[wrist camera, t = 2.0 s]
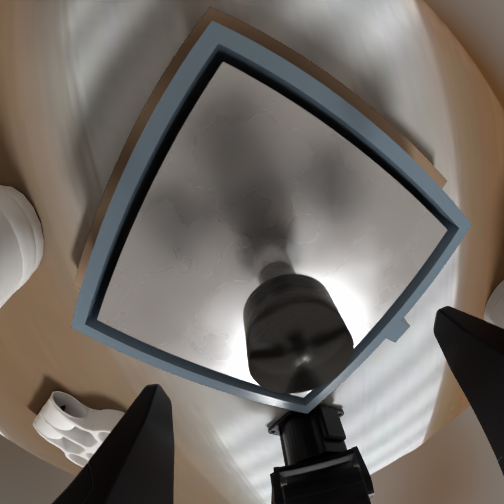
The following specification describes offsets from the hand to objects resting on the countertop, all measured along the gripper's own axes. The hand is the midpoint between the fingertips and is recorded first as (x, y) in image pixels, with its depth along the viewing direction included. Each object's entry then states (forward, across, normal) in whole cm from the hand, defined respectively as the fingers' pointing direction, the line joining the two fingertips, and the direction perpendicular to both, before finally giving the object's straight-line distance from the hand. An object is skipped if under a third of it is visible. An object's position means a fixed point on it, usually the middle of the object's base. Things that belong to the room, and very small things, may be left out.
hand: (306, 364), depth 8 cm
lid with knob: (+6, 0, 0) cm, 6 cm away
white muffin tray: (+13, +27, +21) cm, 37 cm away
